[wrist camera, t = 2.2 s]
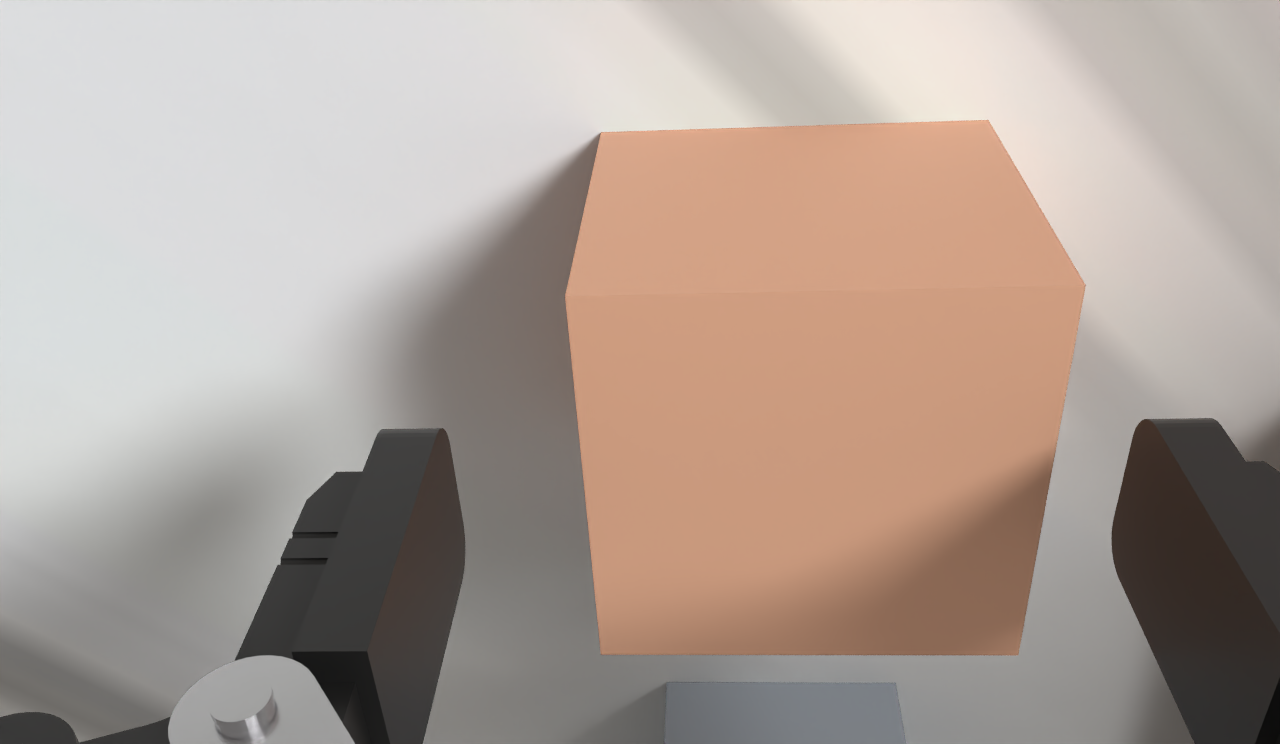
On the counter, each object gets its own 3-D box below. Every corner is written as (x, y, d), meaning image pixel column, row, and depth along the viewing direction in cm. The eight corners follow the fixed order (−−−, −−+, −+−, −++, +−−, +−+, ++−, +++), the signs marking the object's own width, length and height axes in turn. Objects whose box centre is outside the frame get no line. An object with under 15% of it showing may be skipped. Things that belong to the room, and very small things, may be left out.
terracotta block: (986, 117, 16) (1086, 285, 12) (950, 432, 19) (1018, 655, 15) (601, 129, 16) (565, 296, 12) (623, 436, 19) (600, 654, 15)
